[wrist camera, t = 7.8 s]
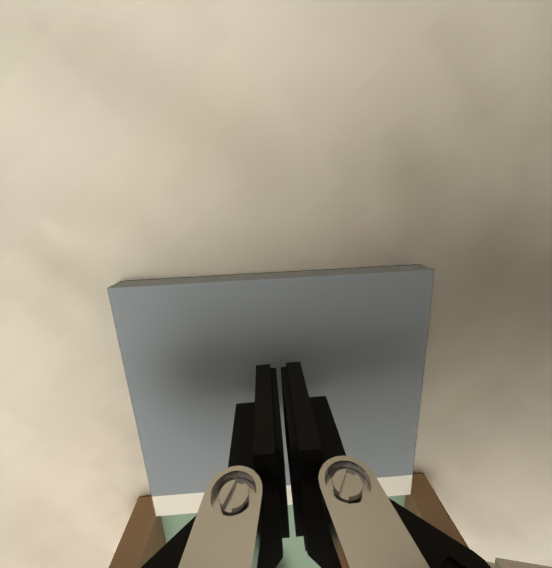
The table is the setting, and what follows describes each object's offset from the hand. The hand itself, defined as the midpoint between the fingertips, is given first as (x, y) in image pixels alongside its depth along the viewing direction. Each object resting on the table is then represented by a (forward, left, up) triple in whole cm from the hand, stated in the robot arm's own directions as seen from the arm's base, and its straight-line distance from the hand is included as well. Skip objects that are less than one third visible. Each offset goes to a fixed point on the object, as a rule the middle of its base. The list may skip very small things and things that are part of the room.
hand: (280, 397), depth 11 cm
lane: (0, +7, -2) cm, 7 cm away
